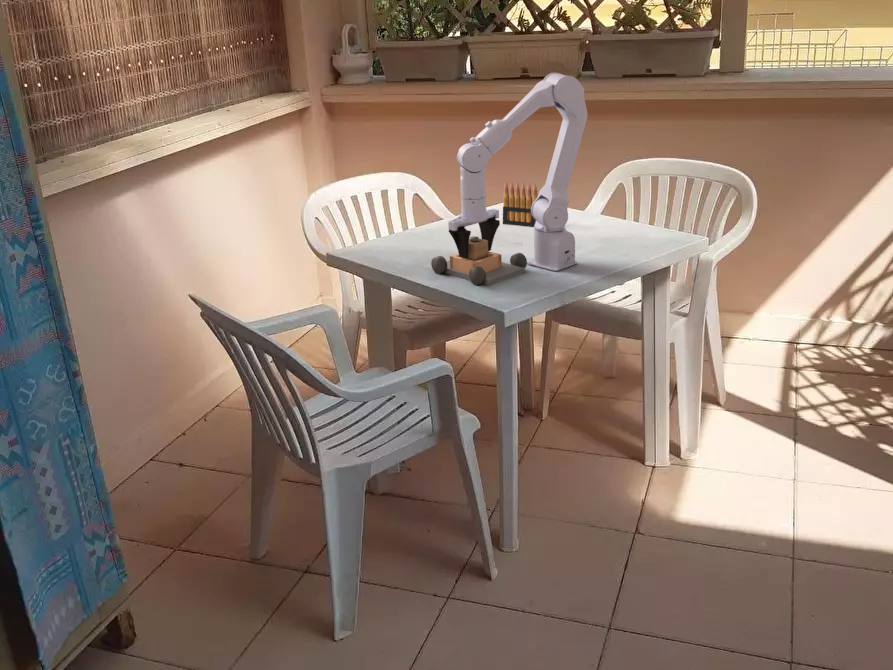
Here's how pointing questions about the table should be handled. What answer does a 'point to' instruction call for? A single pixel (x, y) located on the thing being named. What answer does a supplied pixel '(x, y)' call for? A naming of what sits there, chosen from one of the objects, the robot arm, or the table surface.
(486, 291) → the table surface
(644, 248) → the table surface
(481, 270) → the chassis
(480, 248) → the block
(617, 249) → the table surface
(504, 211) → the ammunition clip
